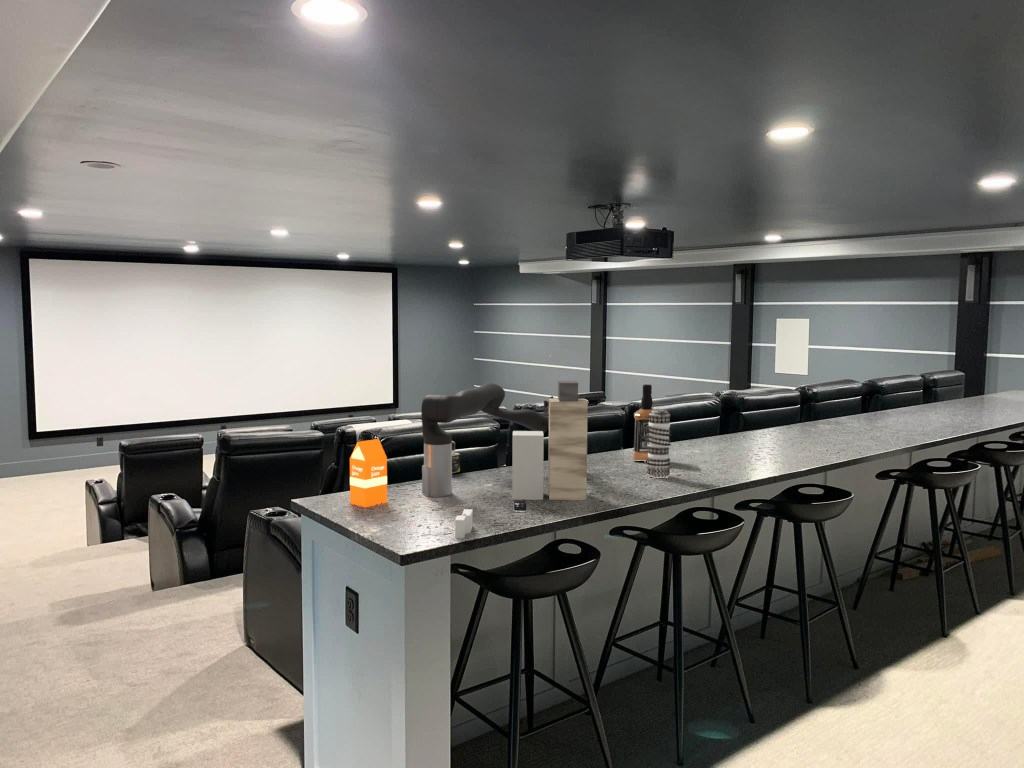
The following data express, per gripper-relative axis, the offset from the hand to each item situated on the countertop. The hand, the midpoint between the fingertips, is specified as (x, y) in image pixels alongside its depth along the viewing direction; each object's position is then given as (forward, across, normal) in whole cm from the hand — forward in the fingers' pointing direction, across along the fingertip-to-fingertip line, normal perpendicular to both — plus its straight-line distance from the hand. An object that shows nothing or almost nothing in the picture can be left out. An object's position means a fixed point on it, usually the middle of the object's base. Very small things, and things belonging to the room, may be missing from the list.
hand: (564, 398), depth 259 cm
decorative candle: (-27, +36, +20) cm, 50 cm away
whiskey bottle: (-56, +37, +3) cm, 68 cm away
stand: (+2, 0, +36) cm, 36 cm away
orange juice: (+11, -63, +42) cm, 77 cm away
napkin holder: (+38, -31, +59) cm, 77 cm away
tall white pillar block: (+2, -13, +36) cm, 39 cm away
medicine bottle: (-32, -44, +17) cm, 57 cm away
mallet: (+14, 0, +6) cm, 15 cm away
